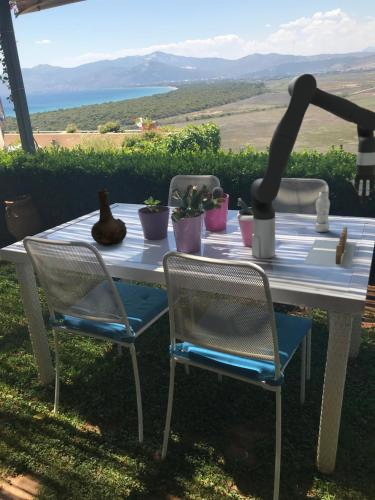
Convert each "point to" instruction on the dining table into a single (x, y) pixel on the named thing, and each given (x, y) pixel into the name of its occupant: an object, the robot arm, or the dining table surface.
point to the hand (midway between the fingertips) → (363, 203)
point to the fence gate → (344, 234)
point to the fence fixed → (340, 249)
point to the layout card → (330, 253)
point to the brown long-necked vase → (107, 224)
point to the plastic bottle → (322, 213)
